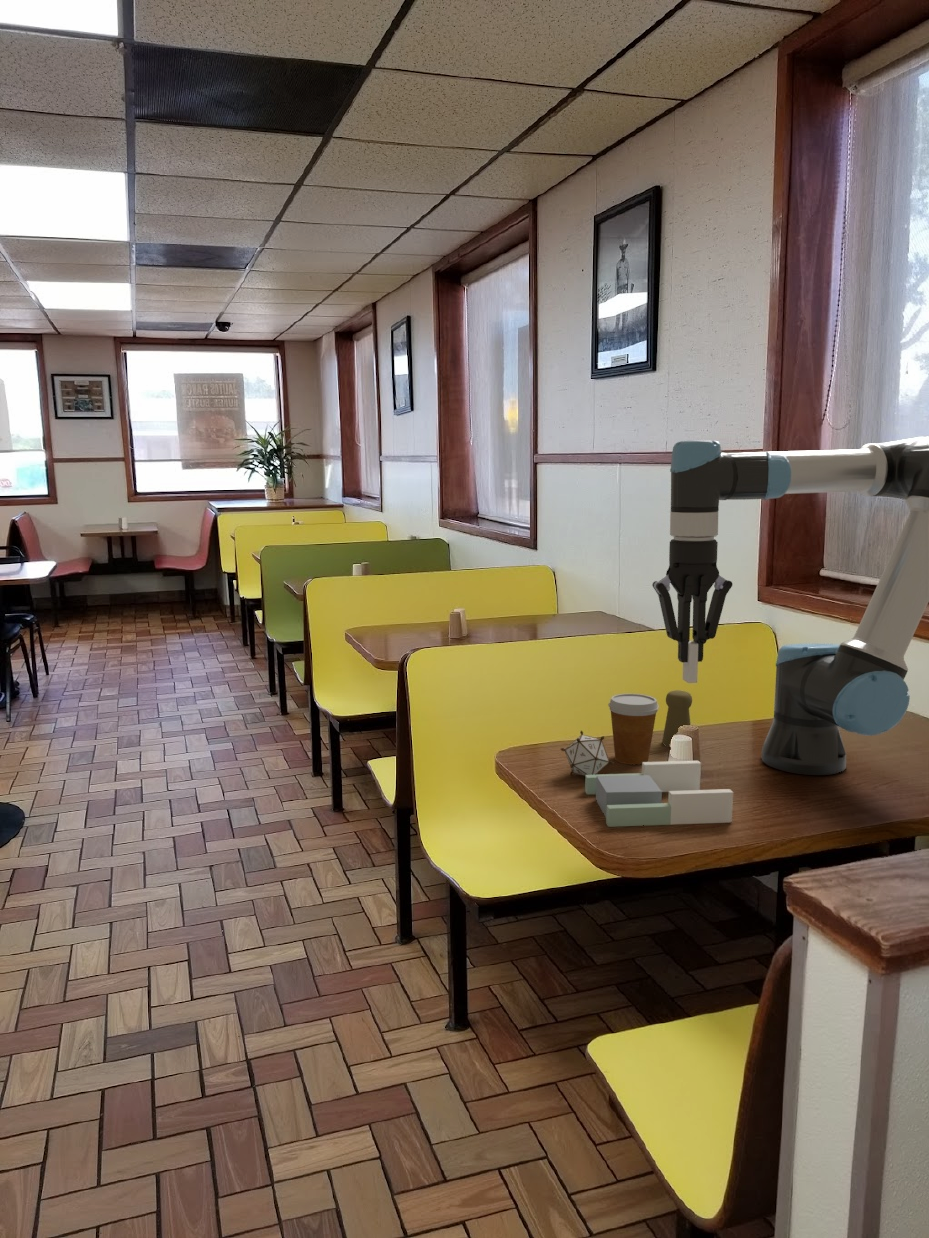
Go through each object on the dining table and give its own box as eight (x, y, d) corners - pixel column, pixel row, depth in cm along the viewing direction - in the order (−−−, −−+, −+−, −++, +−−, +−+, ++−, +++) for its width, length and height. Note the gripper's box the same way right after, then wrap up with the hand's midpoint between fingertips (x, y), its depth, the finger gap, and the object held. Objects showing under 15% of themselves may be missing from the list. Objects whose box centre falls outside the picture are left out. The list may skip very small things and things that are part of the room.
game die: (583, 800, 168) (563, 765, 162) (567, 770, 175) (547, 735, 169) (626, 776, 168) (608, 740, 162) (609, 747, 175) (590, 711, 169)
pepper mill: (655, 744, 189) (658, 691, 187) (672, 738, 193) (674, 686, 192) (681, 750, 185) (684, 696, 183) (698, 744, 189) (700, 691, 187)
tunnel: (696, 787, 164) (698, 760, 163) (731, 822, 148) (733, 792, 147) (584, 791, 162) (585, 763, 161) (608, 826, 146) (609, 796, 145)
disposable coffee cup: (596, 758, 179) (598, 698, 178) (627, 749, 186) (629, 690, 184) (635, 771, 172) (638, 708, 170) (667, 760, 179) (669, 699, 177)
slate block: (648, 800, 158) (649, 775, 158) (660, 818, 150) (661, 791, 150) (595, 801, 158) (596, 775, 157) (605, 819, 150) (606, 792, 149)
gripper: (723, 535, 154) (718, 674, 158) (646, 537, 153) (644, 677, 157) (742, 539, 147) (736, 684, 151) (662, 541, 145) (659, 688, 149)
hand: (689, 680), depth 154 cm, fingers closed
